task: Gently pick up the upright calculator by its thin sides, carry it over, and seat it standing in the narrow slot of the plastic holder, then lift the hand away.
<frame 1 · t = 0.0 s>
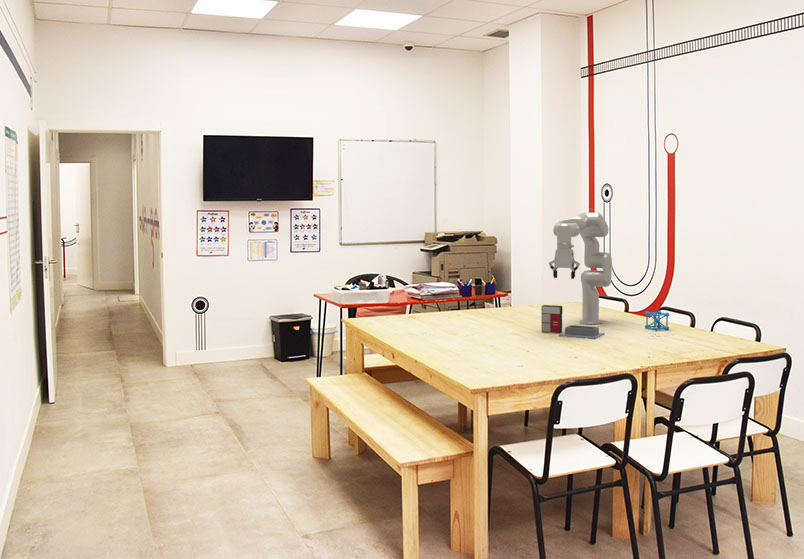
hand: (564, 278, 397), 31 cm above the table, tool pointing down, fingers open, 9 cm apart
molecular structure: (656, 329, 411), on the table
calculator: (551, 332, 409), on the table
desk holder: (581, 335, 398), on the table
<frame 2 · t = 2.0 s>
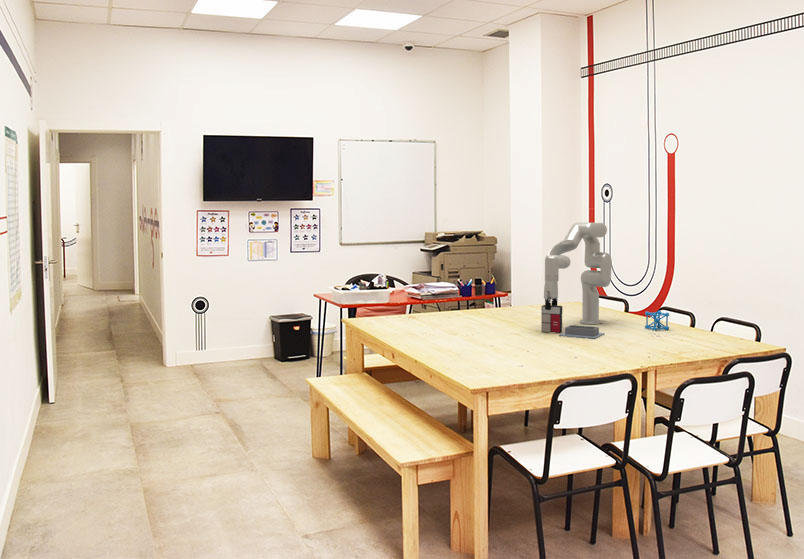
hand: (551, 308, 407), 13 cm above the table, tool pointing down, fingers open, 9 cm apart
nothing on the table moved.
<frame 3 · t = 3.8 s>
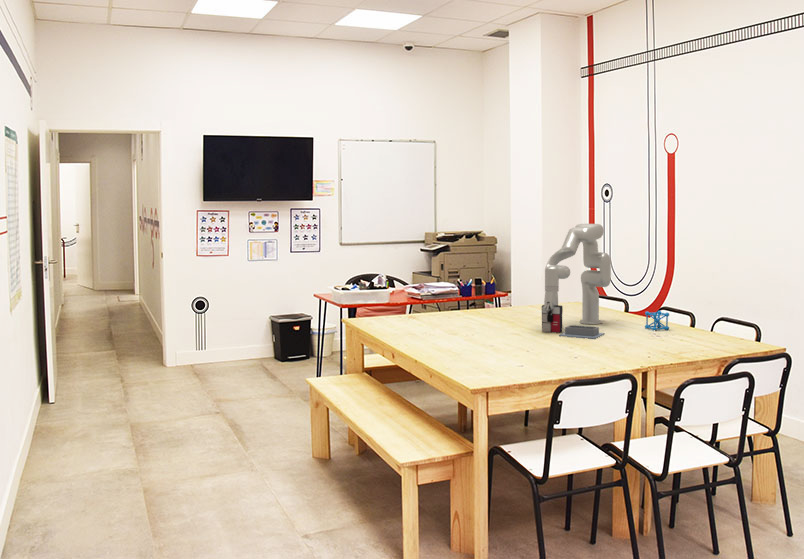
hand: (551, 321, 408), 6 cm above the table, tool pointing down, fingers closed on calculator, 3 cm apart
calculator: (552, 332, 409), on the table, touching gripper
everything else where it was.
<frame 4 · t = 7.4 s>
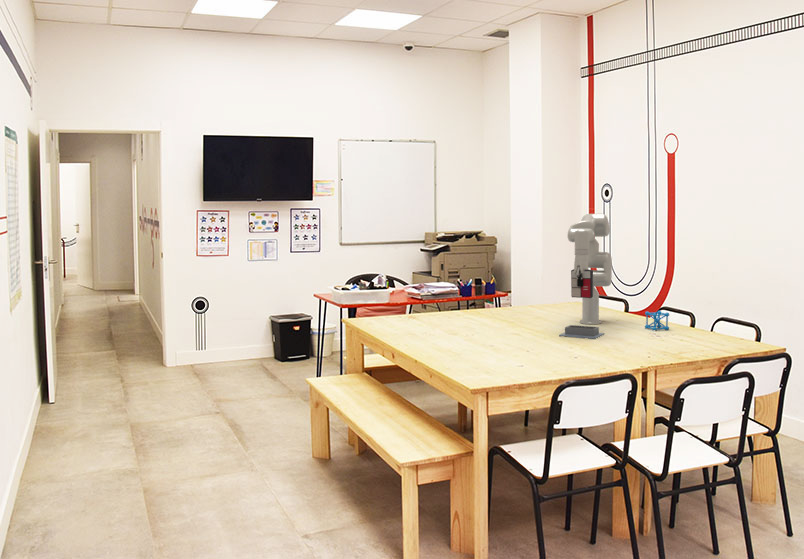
hand: (581, 285, 395), 27 cm above the table, tool pointing down, fingers closed on calculator, 3 cm apart
calculator: (582, 297, 396), point 21 cm above the table, touching gripper
everything else where it was.
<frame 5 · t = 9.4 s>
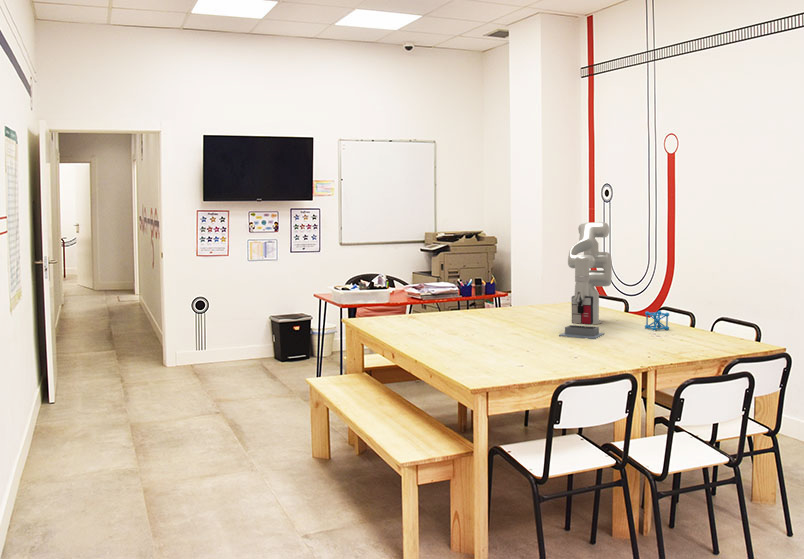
hand: (582, 312, 396), 13 cm above the table, tool pointing down, fingers closed on calculator, 3 cm apart
calculator: (582, 324, 398), point 6 cm above the table, touching gripper
everything else where it was.
when the fingers open (7 cm above the table, at t = 11.2 s): calculator stays where it is, resting on desk holder.
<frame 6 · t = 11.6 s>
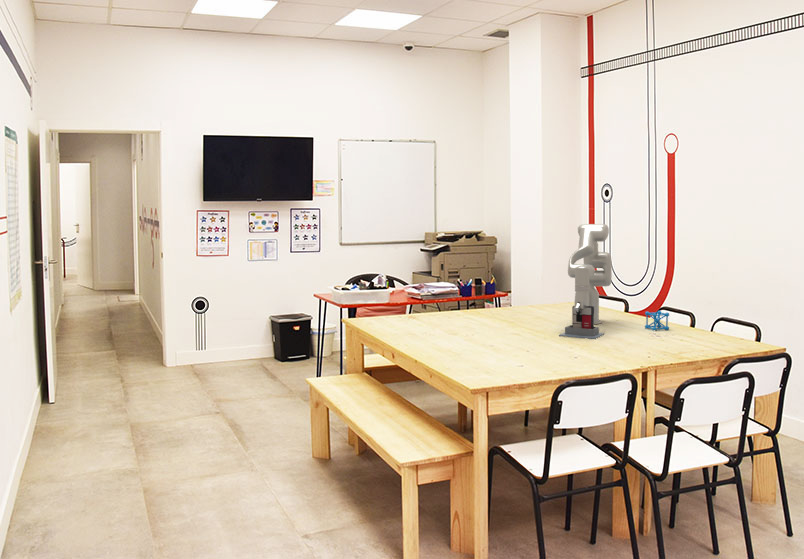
hand: (582, 320, 397), 8 cm above the table, tool pointing down, fingers open, 8 cm apart
calculator: (582, 333, 399), point 1 cm above the table, touching desk holder
everything else where it was.
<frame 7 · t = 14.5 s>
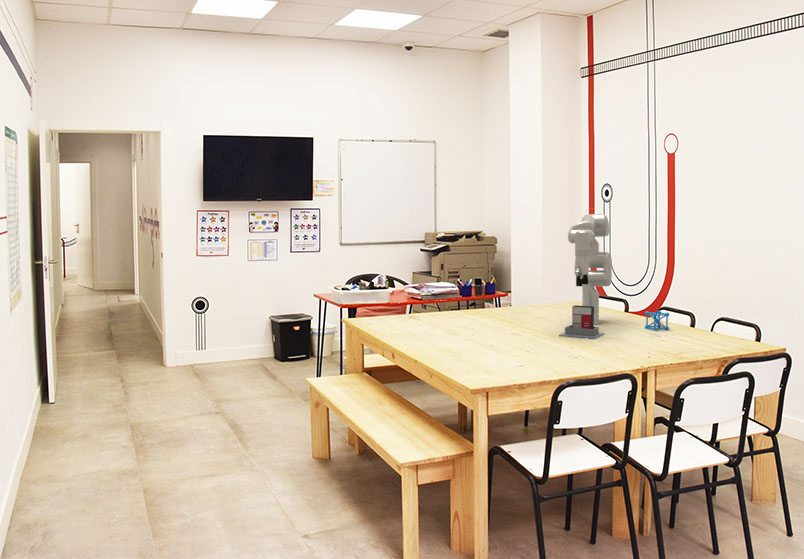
hand: (582, 285, 395), 27 cm above the table, tool pointing down, fingers open, 9 cm apart
nothing on the table moved.
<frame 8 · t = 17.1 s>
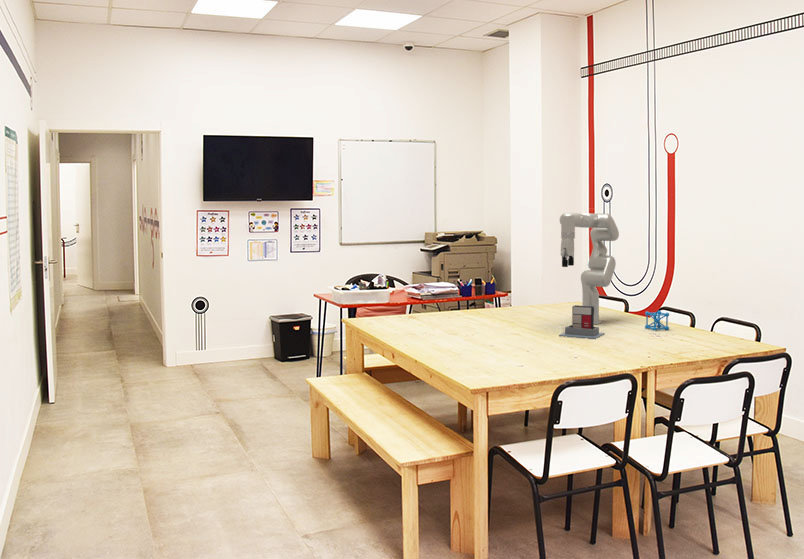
hand: (567, 266, 413), 36 cm above the table, tool pointing down, fingers open, 9 cm apart
nothing on the table moved.
at the end: calculator 1.5 cm off-centre on the desk holder, point 0.6 cm above the desk holder's base; calculator tilted 0°; the gripper is holding nothing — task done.
